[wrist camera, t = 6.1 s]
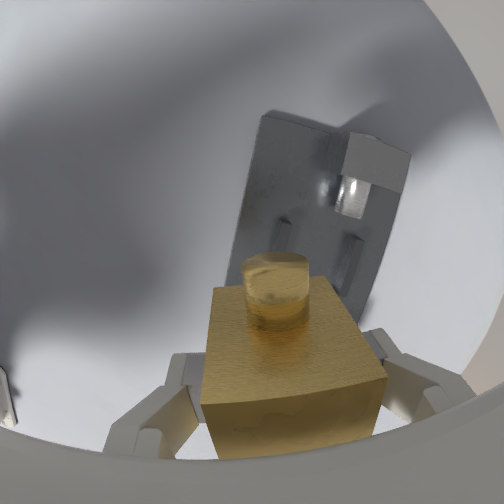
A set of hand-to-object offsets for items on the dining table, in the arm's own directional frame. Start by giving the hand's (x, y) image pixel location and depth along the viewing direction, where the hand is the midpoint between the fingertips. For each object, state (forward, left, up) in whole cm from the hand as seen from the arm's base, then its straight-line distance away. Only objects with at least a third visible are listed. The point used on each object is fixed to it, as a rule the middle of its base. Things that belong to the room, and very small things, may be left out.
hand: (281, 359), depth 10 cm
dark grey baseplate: (-1, -5, -16) cm, 17 cm away
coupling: (0, 0, -2) cm, 2 cm away
